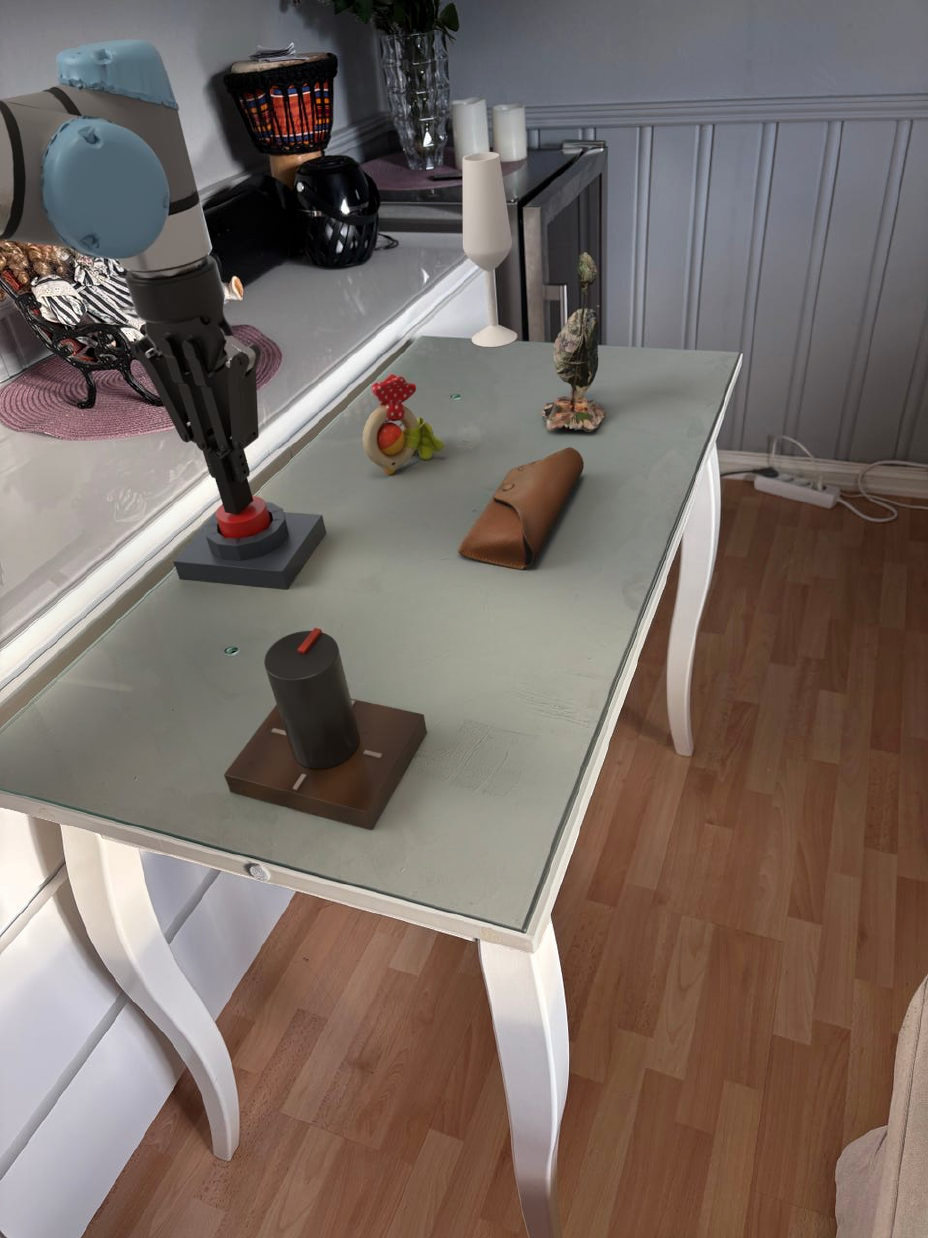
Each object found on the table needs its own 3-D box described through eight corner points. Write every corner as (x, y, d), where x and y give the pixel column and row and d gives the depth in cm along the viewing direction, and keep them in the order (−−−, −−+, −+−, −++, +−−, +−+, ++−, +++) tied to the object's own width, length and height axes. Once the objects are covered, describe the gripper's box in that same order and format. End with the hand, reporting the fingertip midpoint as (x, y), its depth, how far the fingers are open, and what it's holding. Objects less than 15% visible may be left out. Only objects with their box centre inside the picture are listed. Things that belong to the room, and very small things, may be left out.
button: (212, 538, 90) (206, 520, 89) (234, 510, 94) (229, 493, 92) (257, 541, 89) (252, 524, 87) (278, 514, 92) (274, 496, 91)
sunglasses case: (510, 464, 102) (537, 420, 97) (563, 497, 102) (593, 455, 97) (453, 556, 89) (481, 510, 84) (514, 593, 89) (545, 550, 85)
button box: (179, 579, 91) (167, 546, 89) (224, 524, 99) (215, 492, 96) (287, 589, 88) (278, 555, 86) (326, 532, 96) (319, 499, 93)
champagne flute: (464, 345, 130) (447, 163, 115) (480, 327, 135) (465, 150, 120) (509, 348, 128) (497, 162, 113) (523, 329, 133) (513, 149, 118)
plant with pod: (619, 397, 113) (621, 229, 101) (594, 440, 105) (593, 264, 93) (556, 392, 116) (551, 228, 103) (527, 433, 108) (518, 262, 96)
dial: (339, 776, 66) (314, 683, 60) (278, 760, 68) (248, 668, 62) (371, 726, 70) (350, 634, 64) (312, 712, 72) (287, 621, 66)
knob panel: (230, 792, 69) (222, 773, 67) (295, 702, 76) (290, 683, 74) (371, 830, 65) (366, 811, 63) (427, 732, 72) (423, 712, 70)
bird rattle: (412, 496, 103) (459, 438, 105) (368, 431, 95) (420, 369, 97) (375, 481, 107) (422, 425, 109) (330, 416, 98) (381, 357, 100)
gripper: (259, 251, 75) (315, 497, 90) (139, 244, 80) (210, 478, 95) (202, 283, 70) (271, 538, 85) (78, 273, 75) (163, 515, 90)
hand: (239, 506), depth 90 cm, fingers closed
